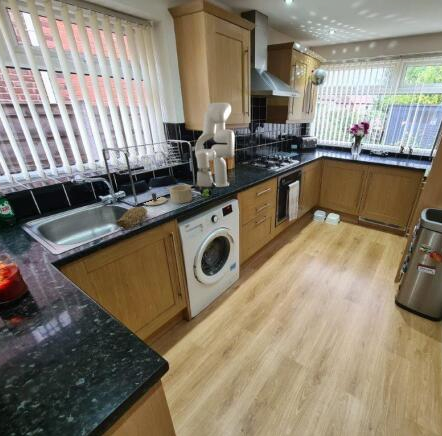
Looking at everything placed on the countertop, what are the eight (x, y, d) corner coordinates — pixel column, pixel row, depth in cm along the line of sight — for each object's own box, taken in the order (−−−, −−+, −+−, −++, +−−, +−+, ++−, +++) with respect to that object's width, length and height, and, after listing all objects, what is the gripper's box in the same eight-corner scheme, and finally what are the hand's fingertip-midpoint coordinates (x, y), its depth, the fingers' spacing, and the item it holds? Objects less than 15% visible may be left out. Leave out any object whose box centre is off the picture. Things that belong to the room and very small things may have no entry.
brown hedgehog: (134, 232, 125) (156, 210, 140) (125, 220, 120) (150, 199, 136) (115, 233, 129) (139, 212, 145) (107, 221, 125) (132, 201, 140)
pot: (173, 196, 172) (171, 184, 169) (198, 196, 170) (197, 185, 167) (164, 202, 160) (161, 190, 157) (191, 203, 158) (190, 191, 154)
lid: (150, 198, 169) (148, 189, 166) (170, 198, 167) (169, 190, 165) (138, 205, 156) (136, 196, 153) (160, 206, 154) (158, 197, 151)
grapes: (204, 193, 176) (204, 187, 174) (211, 194, 176) (210, 187, 174) (200, 198, 168) (199, 191, 166) (207, 198, 167) (206, 192, 165)
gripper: (217, 168, 167) (219, 194, 175) (193, 168, 169) (196, 193, 177) (214, 171, 161) (216, 197, 168) (189, 171, 163) (193, 196, 170)
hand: (206, 195), depth 172 cm, fingers closed on grapes, 5 cm apart
